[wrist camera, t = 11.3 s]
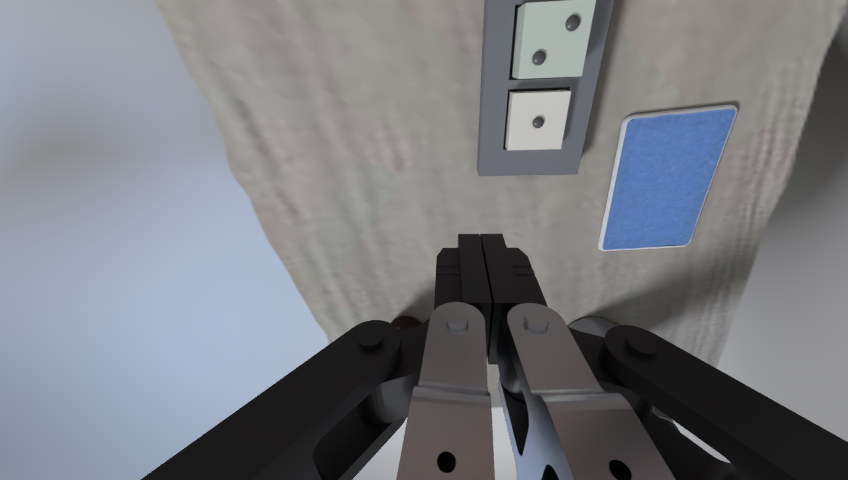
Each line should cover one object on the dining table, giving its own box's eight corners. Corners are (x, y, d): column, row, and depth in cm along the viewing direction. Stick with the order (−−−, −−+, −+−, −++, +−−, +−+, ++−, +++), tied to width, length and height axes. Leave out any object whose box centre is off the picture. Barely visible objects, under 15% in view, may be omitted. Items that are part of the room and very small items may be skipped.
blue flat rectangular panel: (684, 243, 46) (690, 248, 45) (595, 248, 48) (598, 253, 47) (733, 102, 37) (743, 104, 36) (619, 114, 38) (625, 116, 37)
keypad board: (631, -152, 27) (651, -174, 24) (569, 166, 41) (577, 174, 39) (490, -138, 28) (495, -158, 25) (477, 168, 42) (479, 176, 39)
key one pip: (560, 88, 36) (571, 91, 33) (552, 141, 39) (561, 149, 36) (507, 90, 36) (513, 93, 33) (503, 143, 39) (507, 150, 36)
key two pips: (581, 4, 30) (597, -2, 27) (569, 74, 33) (582, 76, 30) (518, 8, 31) (526, 2, 27) (511, 76, 34) (518, 79, 30)
